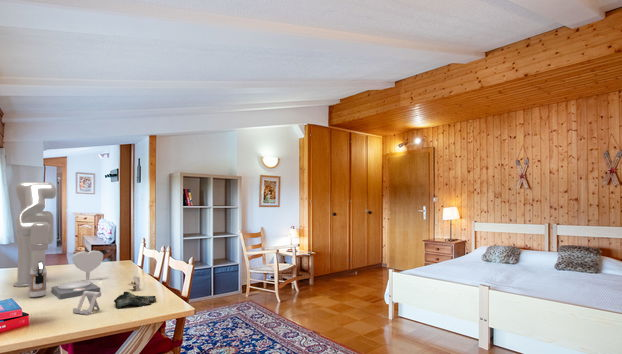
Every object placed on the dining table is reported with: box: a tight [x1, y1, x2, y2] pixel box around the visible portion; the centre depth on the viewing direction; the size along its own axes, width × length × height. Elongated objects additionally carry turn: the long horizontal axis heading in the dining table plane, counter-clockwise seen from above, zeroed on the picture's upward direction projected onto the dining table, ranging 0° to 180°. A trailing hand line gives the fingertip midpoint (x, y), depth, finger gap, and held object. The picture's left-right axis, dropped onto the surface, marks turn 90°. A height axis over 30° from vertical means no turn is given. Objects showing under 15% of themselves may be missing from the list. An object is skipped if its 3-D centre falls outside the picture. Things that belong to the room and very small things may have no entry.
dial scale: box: [51, 280, 101, 300], centre depth 197 cm, size 22×18×4 cm
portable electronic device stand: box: [72, 291, 102, 316], centre depth 162 cm, size 9×8×8 cm
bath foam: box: [28, 264, 48, 298], centre depth 189 cm, size 7×7×20 cm
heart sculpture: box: [72, 250, 104, 283], centre depth 222 cm, size 16×5×18 cm, turn 128°
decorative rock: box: [113, 291, 157, 310], centre depth 175 cm, size 19×6×15 cm
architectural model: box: [126, 276, 141, 292], centre depth 200 cm, size 3×7×7 cm, turn 51°
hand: (38, 281), depth 188 cm, fingers closed on bath foam, 7 cm apart
